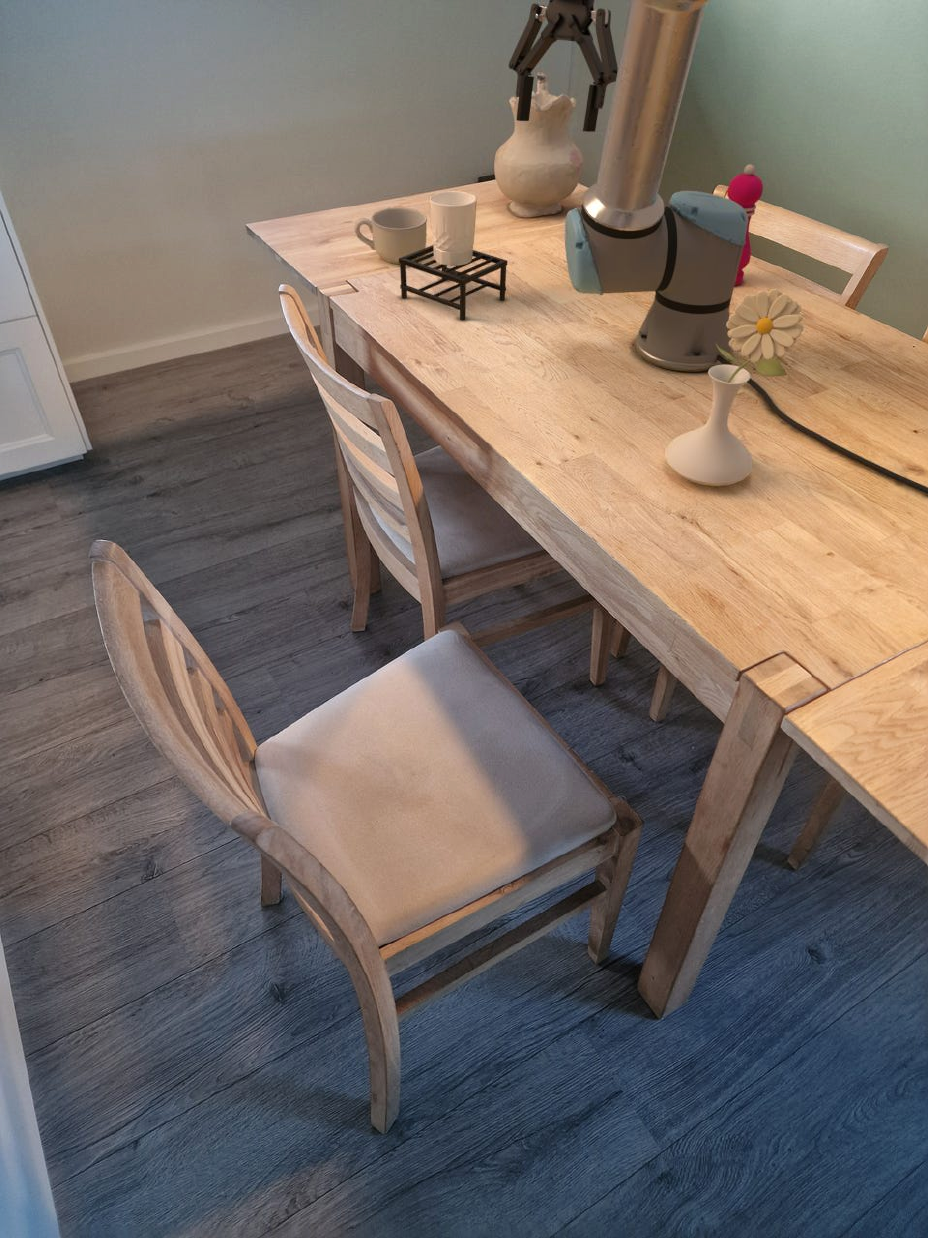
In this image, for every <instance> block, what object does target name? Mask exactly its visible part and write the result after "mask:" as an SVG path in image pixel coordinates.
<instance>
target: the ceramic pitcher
mask: <svg viewBox="0 0 928 1238" xmlns="http://www.w3.org/2000/svg"><path fill="white" fill-rule="evenodd" d="M535 78H536V79H537V84H536V85H537V86H536V92H535V91H534V90H532V98H531V107H530V115H529V121H517V120H516V119H517V110H518V101H519V97H516V96H510V99H509V105H510V107H511V112H512V114H513V120H514V131H513V133H512V135H511V136H510V137H509V138H508V139H507V140H506V141H505V142H504V143H503V144H501V145H500V146H499V148H497V150H496V152H495V155H494V161H493V162H494V164H493V170H494V178H495V181H496V183H497V186H498V188H499V190H500V192H501V193H502V194H503V195H504V197H506V198H507V199H508V200H511V203H510V204H509V206H508V207H509V210H510V211H511V213H512V214H513V215H515V216H517V217H520V218H533V217H534V218H535V217H540V216H547V215H556V214H558V213H560V212H561V211H562V209H563V207H562V206H561V205H560V203H559V202H562V201H564V200H566V199H567V198H568V197H570V196H571V195H572V194H573V193H574V191H575V190H576V188H577V187H578V184H579V183H580V180H581V179H582V178H581V177H582V174H583V170H584V157H583V154H582V152H581V151H580V149H579V148H578V147H577V145H576V144H575V143H574V142H573V141H572V140H571V138H570V135H569V131H568V130H569V129H568V127H569V123H570V119H571V116H572V114H573V112H574V110H575V109H576V105H577V98H575V97H571V98H570V96H569V95H567V94H564V93H561V94H560V95H558V96H556V95H554V94H553V95H552V94H551V93H549V88H550V85H549V78H548V76H547V75H546V74H545V73H543V72H542V71H538V72H536V75H535Z"/></svg>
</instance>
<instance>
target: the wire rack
mask: <svg viewBox="0 0 928 1238" xmlns="http://www.w3.org/2000/svg"><path fill="white" fill-rule="evenodd" d="M433 246H434V245H433V244H432V245H430V246H427V247H425V248H424V249H422V250H419V251H417V252H414V253H412V254H409V255H407V256H404V257H401V258H399V263H400V264H399V272H400V285H399V288H400V294H401V295H400V296H401V299H404V300H405V299H407V298H408V292H409V293H412V294H413V295H417V296H420V297H422V298H425V299H428V300H430V301H433V302H436V303H440V304H441V305H444V306H447V307H450V308H452V309H455V310H458V311H459V320H460V321H466V319H467V317H466V315H467V314H466V311H467V297H468V296H470V295H472V294H474V293H477V292H478V291H481V290H483V289H485V288H491V289H493V290H497V291H499V298H498V299H499V301H500V302H504V301H505V300H506V292H507V285H506V284H507V282H506V281H507V266H508V260H506V259H504V258H500V257H497V256H494V255H491V254H487V253H485V252H481V251H478V250H475V249H473V258H472V260H471V262H469V263H467V264H464V265H460V266H451V267H448V265H442V264H439V265H436V266H434V267H432V266H431V265H434V264H436V263H437V262H436V261H435V259H434V249H433ZM416 258H417V259H416ZM431 258H433V259H432V260H430V261H427V262H425V263H420V262H423V261H426V260H428V259H431ZM413 259H416V260H414V261H411V260H413ZM481 260H483V262H480V263H478V264H476V265H474V266H471V267H469V268H466V269H464V270H462V271H459V269H461V268H464V267H466V266H468V265H471V264H473V263H474V262H475V263H476V262H478V261H481ZM491 263H492V264H491ZM437 264H438V263H437ZM489 264H491V265H489ZM487 265H488V266H487ZM485 266H487V267H485ZM407 267H410V268H413V269H415V270H418V271H420V272H424V273H426V274H429V275H432V276H436V277H438V278H441V279H439V280H437V281H435V282H432V283H430V284H428V285H426V286H422V287H421V288H416V287H413V286H410V285H407ZM482 267H484V268H482ZM480 268H482V269H480ZM478 269H480V270H478ZM475 270H478V271H476V272H473V271H475ZM497 270H500V275H499V284H497V283H495V282H492V281H489V280H486V279H484V278H482V277H484V276H487V275H488V274H491V273H493V272H495V271H497ZM470 272H473V273H471V274H469V273H470ZM447 281H450V282H452V283H456V284H454V285H452V286H449V287H448V288H446V289H443V290H441V291H439V292H436V293H434V294H432V293H429V292H427V290H429V289H432V288H435V287H437V286H438V285H439V286H440V285H441V284H443V283H446V282H447ZM472 282H473V283H475V284H478V286H476V287H475V288H472V289H470V290H468V291H467V284H469V283H472ZM458 288H459V295H457V296H455V297H453V298H450V299H446V298H443V297H441V296H443V295H445V294H448V293H450V292H452V291H454V290H456V289H458ZM457 301H459V303H457Z"/></svg>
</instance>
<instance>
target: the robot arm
mask: <svg viewBox="0 0 928 1238" xmlns="http://www.w3.org/2000/svg"><path fill="white" fill-rule="evenodd" d="M595 1H596V0H549V2H548V5H547V6H545V5H544V4H541V3H535V2H534V3H532V4H531V6H530V11H529V15H528V20H527V22H526V25H525V27H524V28H523V31H522V34H521V35H520V38H519V40H518V42H517V44H516V47H515V49H514V51H513V53H512V56H511V57H510V60H509V62H508V68H509V69H510V70H512V71H514V72H515V73H516V74H517V80H516V88H515V89H516V90H515V98H518V97H519V101H518V110H517V119H516V120H517V121H529V115H530V107H531V98H532V91H534V80H535V77H534V76H532V75H533V74H532V72H533V70H534V69H535V68H536V66H537V65H538V64H539V63H540V61H541V60H542V59H543V57H544V56H545V55H546V53H547V52H548V51H549V49H550V48H551V46H552V45H553V44H554V43H556V42H557V41H565V42H566V41H567V42H574V43H576V44H577V45H578V46H579V49H580V51H581V53H582V57H583V58H584V61H585V63H586V65H587V68H588V70H589V73H590V74H591V77H592V79H593V82H592V84H589V86H588V92H587V99H586V107H585V112H584V113H585V114H584V121H583V127H582V132H587V133H588V132H590V133H591V132H593V133H594V132H596V128H597V123H598V122H597V121H598V115H599V109H601V110H602V109H603V107H604V103H605V97H606V91H607V87H608V86H609V85H610V84H612V83H615V84H614V89H613V93H612V99H611V104H610V110H609V115H608V121H607V127H606V131H605V137H604V143H603V147H602V153H601V159H600V163H599V170H598V175H597V180H596V182H595V183H594V184H592V185H590V186H589V187H588V188H587V189H586V190H585V191H584V194H583V196H582V201H581V207H580V208H577V207H574V208H573V209H570V210H568V212H567V214H566V216H565V221H564V246H565V257H566V266H567V272H568V276H569V279H570V283H571V285H572V287H573V289H574V290H575V291H576V292H577V293H580V294H583V295H594V294H595V295H599V296H603V295H605V294H625V293H627V294H628V293H648V292H649V293H650V292H655V293H654V299H653V302H652V304H651V305H650V308H649V310H648V311H647V314H646V315H645V317H644V320H643V322H642V323H641V325H640V328H639V329H638V332H637V335H636V340H635V345H634V346H635V351H636V353H637V354H638V356H640V357H641V359H644V360H645V361H646V362H648V363H650V364H652V365H654V366H657V367H660V368H663V369H667V370H671V371H675V372H676V371H678V372H684V373H685V372H689V373H696V372H706V371H707V372H708V371H709V369H710V368H711V367H713V366H716V365H734V364H733V363H731V362H730V361H729V360H730V359H728V358H727V357H726V356H724V355H723V354H722V353H721V352H720V351H719V350H718V348H717V346H718V347H719V348H720V349H722V350H724V351H725V352H727V353H729V354H731V353H732V351H733V349H732V347H730V346H729V341H730V340H731V339H732V338H730V337H728V331H729V330H730V329H729V328H727V326H726V324H727V322H728V321H729V316H730V315H731V314H730V306H731V302H732V298H733V293H734V290H735V286H734V285H735V281H736V276H737V272H738V268H739V264H740V260H741V255H742V251H743V247H744V245H745V243H746V241H745V238H746V231H747V225H748V216H747V213H746V211H745V210H744V209H743V207H741V206H740V205H739V204H737V203H735V202H734V201H731V200H729V198H728V197H724V196H720V195H717V194H713V193H709V192H704V191H697V190H680V191H676V192H674V193H673V194H672V195H671V197H670V199H669V200H668V205H667V206H665V202H664V199H663V198H662V197H661V195H660V194H659V190H660V186H661V182H662V178H663V174H664V170H665V166H666V163H667V160H668V159H667V158H668V155H669V151H670V148H671V147H670V146H671V143H672V139H673V135H674V132H675V127H676V123H677V119H678V116H679V111H680V107H681V104H682V99H683V96H684V92H685V88H686V84H687V81H688V75H689V72H690V68H691V65H692V60H693V56H694V52H695V48H696V44H697V41H698V37H699V33H700V28H701V24H702V21H703V16H704V13H705V9H706V5H707V3H709V2H710V1H711V0H630V3H629V6H628V7H629V8H628V13H627V19H626V23H625V29H624V35H623V39H622V45H621V49H620V50H621V51H620V55H619V56H620V58H619V62H617V57H616V52H615V45H614V40H613V36H612V31H611V19H612V11H611V10H610V9H606V8H601V7H600V8H598V9H596V10H595V8H594V5H595V4H594V3H595ZM544 21H547V24H546V26H544V28H543V30H541V29H542V25H543V23H544ZM592 23H593V25H594V26H595V33H596V39H597V44H598V49H599V52H598V50H597V48H596V45H595V43H594V37H593V34H592V33H591V30H590V26H591V25H592ZM540 30H541V33H540ZM539 33H540V36H539V38H538V39H537V37H538V35H539ZM536 39H537V40H536ZM599 54H600V55H599ZM715 343H716V344H717V346H716V344H715ZM731 355H732V354H731ZM746 384H748V385H749V386H751V387H752V388H753V389H754V390H755V391H756V392H757V393H758V394H759V395H760V396H761V397H762V398H763V399H764V401H765V402H766V403H767V405H768V407H769V408H770V409H771V410H772V412H773V413H774V414H776V416H777V417H778V418H780V419H781V420H782V421H783V422H785V423H787V424H788V425H790V426H791V427H793V428H794V429H796V430H798V431H799V432H801V433H803V434H805V435H806V436H809V437H810V438H812V439H814V440H815V441H817V442H819V443H820V444H823V445H824V446H826V447H828V448H830V449H832V450H833V451H835V452H837V453H839V454H841V455H842V456H844V457H847V458H849V459H851V460H852V461H854V462H856V463H858V464H861V465H862V466H864V467H866V468H869V469H871V470H872V471H874V472H877V473H879V474H881V475H884V476H886V477H887V478H890V479H892V480H894V481H895V482H896V481H897V482H898V483H901V484H904V485H905V486H908V487H910V488H912V489H914V490H917V491H919V492H921V493H924V494H926V495H928V486H926V485H924V484H922V483H919V482H917V481H915V480H912V479H910V478H907V477H905V476H903V475H900V474H898V473H896V472H894V471H892V470H890V469H888V468H886V467H883V466H881V465H879V464H877V463H876V462H873V461H871V460H868V459H866V458H864V457H862V456H861V455H859V454H857V453H854V452H853V451H850V450H848V449H847V448H845V447H843V446H841V445H839V444H837V443H835V442H834V441H832V440H831V439H829V438H826V437H824V436H823V435H821V434H819V433H817V432H815V431H813V430H812V429H810V428H808V427H807V426H805V425H803V424H801V423H799V422H797V421H796V420H794V419H793V418H791V417H790V416H789V415H787V414H786V413H785V412H783V411H782V410H781V409H780V408H779V407H778V406H777V405H776V404H775V402H774V401H773V400H772V398H771V397H770V395H769V394H768V392H767V391H766V390H764V388H763V387H761V385H759V384H758V382H756V381H755V380H754V379H753V378H752V377H750V380H749V381H748V382H746Z"/></svg>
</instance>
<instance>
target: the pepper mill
mask: <svg viewBox="0 0 928 1238" xmlns="http://www.w3.org/2000/svg"><path fill="white" fill-rule="evenodd" d="M755 172H756V167H755V166H754V164H747V165H746V166H745V167H744V169H743V173H740V174H738V175H736V176H734V177H733V178H732V179H731V180H730V182H729V183H728V188H727V191H726V194H727V199H729V200H731V201H734V202H735V203H737V204H739V205H740V206H741V207H743V209H744V210H745V211H746V213H747V216H748V225H747V231H746V238H745V241H746V243H745V245H744V247H743V251H742V255H741V260H740V264H739V268H738V272H737V276H736V281H735V285H734V287H736V286H740V285H741V284H742V283H743V281H744V280H743V279H744V277H745V272H744V269H745V268H746V267H748V265H749V263H750V261H751V258H752V257H751V256H752V247H751V240H750V225H751V224H750V223H751V221H752V220H751V219H752V217H753V216H754V215H755V213H756V211H755V210H756V208H757V205H756V203H757V202H758V201H760V199H761V197H762V196H763V192H764V191H763V190H764V184H763V181H762V179H761V178H760V177H759V176H758V175H756V174H755Z"/></svg>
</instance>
